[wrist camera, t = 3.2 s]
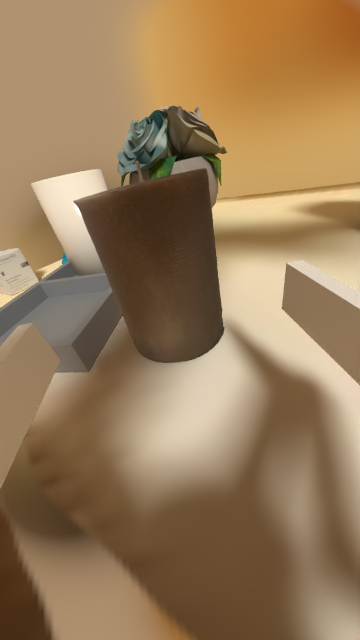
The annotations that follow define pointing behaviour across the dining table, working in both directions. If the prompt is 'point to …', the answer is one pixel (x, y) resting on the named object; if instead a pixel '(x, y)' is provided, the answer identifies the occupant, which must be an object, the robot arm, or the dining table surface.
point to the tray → (66, 315)
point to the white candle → (72, 216)
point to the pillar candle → (160, 262)
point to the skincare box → (15, 272)
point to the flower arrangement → (171, 147)
